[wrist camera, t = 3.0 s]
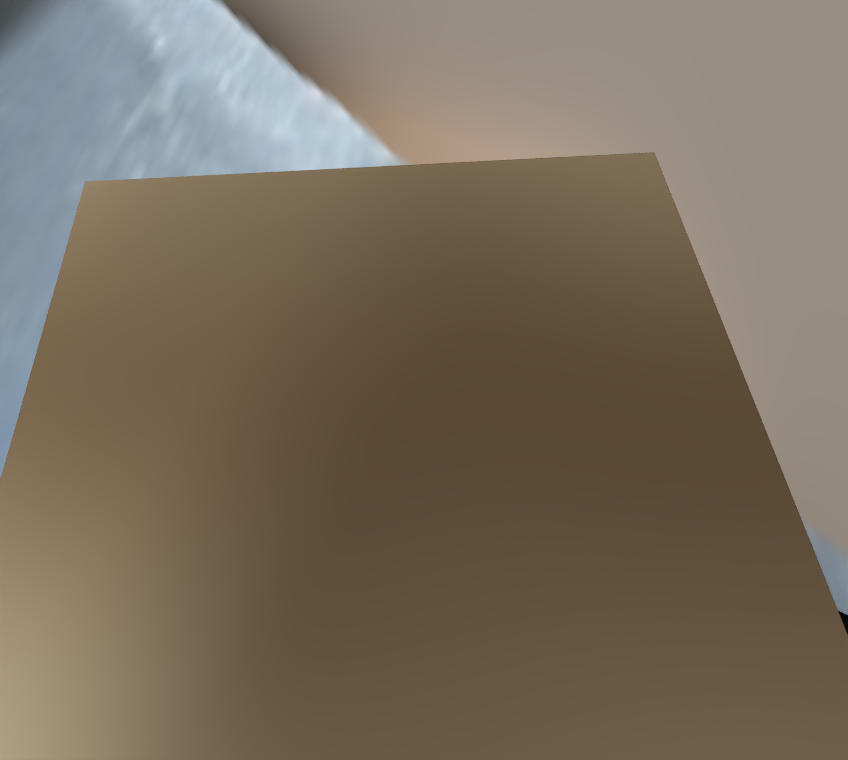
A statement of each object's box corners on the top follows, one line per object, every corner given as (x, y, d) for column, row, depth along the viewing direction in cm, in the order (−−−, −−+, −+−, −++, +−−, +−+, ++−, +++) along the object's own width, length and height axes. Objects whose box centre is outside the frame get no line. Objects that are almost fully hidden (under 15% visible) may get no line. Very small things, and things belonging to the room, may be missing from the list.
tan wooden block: (518, 716, 14) (940, 867, 3) (319, 735, 14) (-146, 992, 2) (490, 519, 16) (654, 152, 5) (320, 532, 16) (85, 182, 5)
